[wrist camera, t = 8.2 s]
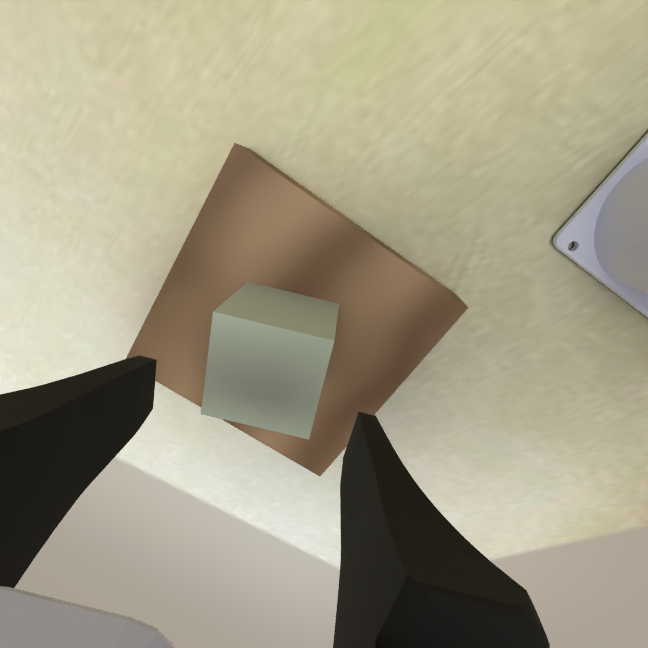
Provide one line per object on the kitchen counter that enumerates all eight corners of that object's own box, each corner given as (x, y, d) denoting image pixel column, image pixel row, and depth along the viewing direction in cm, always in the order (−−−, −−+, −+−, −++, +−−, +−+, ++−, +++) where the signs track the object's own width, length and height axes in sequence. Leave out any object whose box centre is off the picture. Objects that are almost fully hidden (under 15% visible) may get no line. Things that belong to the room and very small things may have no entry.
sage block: (339, 303, 19) (334, 340, 14) (319, 383, 21) (308, 439, 16) (247, 281, 19) (213, 311, 14) (235, 363, 21) (200, 413, 16)
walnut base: (455, 294, 21) (468, 307, 19) (323, 450, 26) (319, 476, 23) (249, 148, 19) (234, 142, 17) (146, 345, 24) (124, 362, 21)
